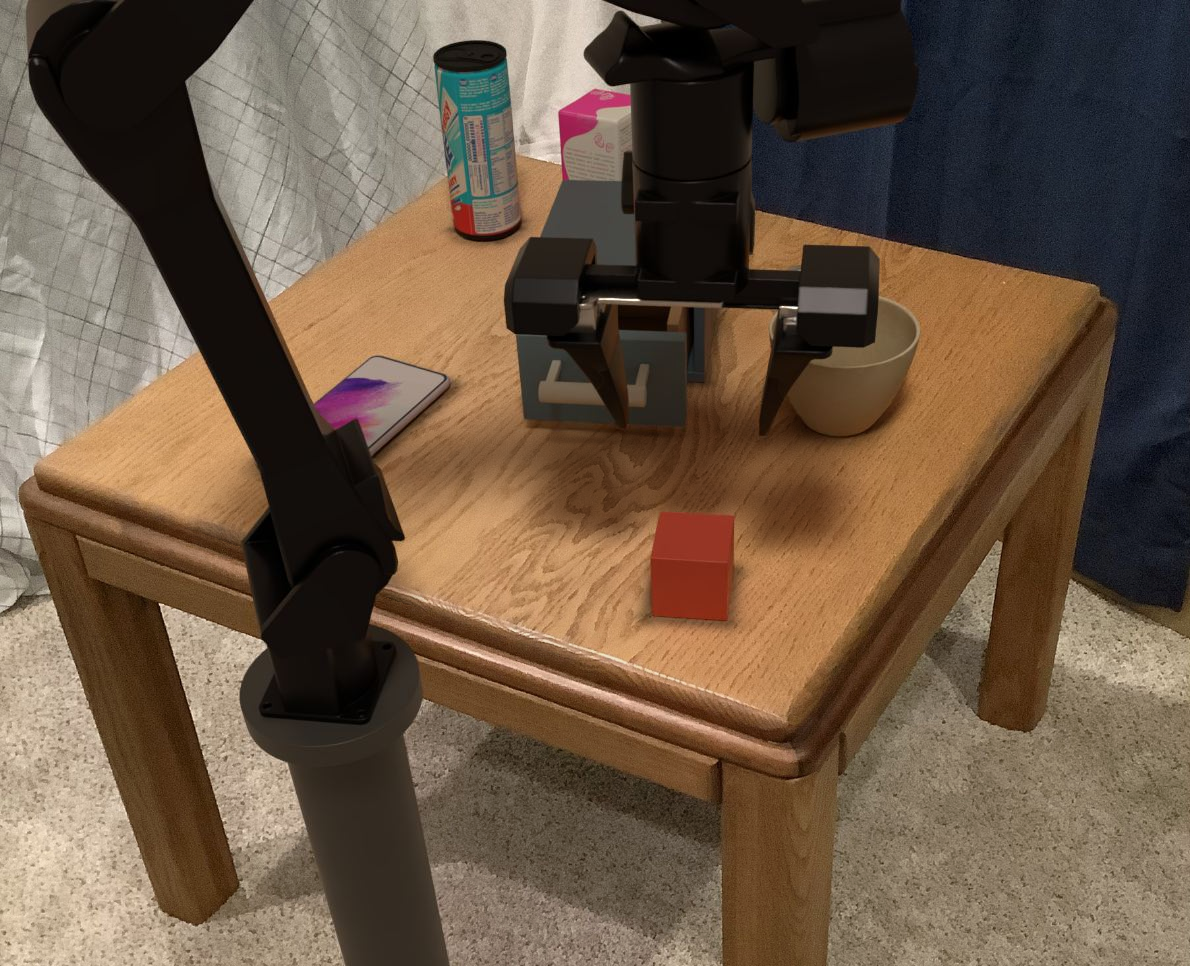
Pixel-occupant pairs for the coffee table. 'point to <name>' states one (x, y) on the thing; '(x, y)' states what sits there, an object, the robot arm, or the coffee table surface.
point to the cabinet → (617, 247)
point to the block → (692, 565)
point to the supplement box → (595, 136)
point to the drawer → (650, 364)
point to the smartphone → (381, 398)
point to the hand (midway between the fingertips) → (693, 428)
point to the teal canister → (478, 138)
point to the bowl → (857, 376)
